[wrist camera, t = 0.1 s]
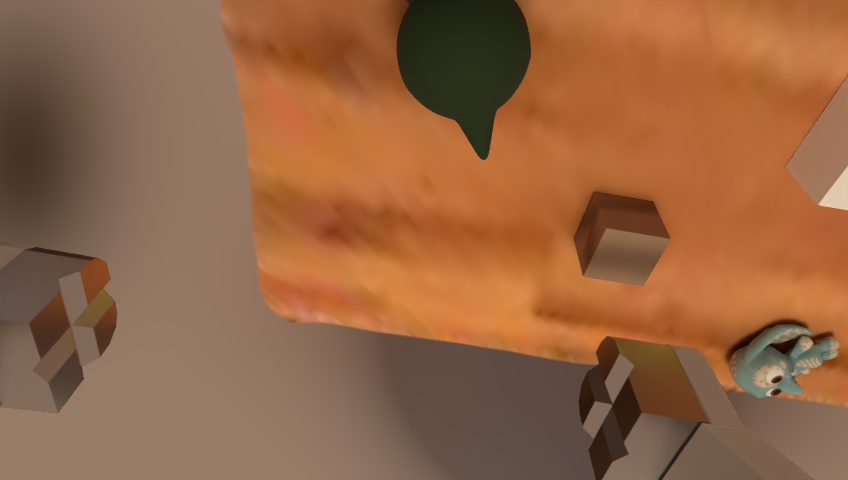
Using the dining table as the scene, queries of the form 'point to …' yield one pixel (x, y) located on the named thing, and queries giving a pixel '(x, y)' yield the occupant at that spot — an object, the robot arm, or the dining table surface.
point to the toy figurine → (464, 60)
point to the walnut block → (620, 239)
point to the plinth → (825, 155)
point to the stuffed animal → (779, 360)
